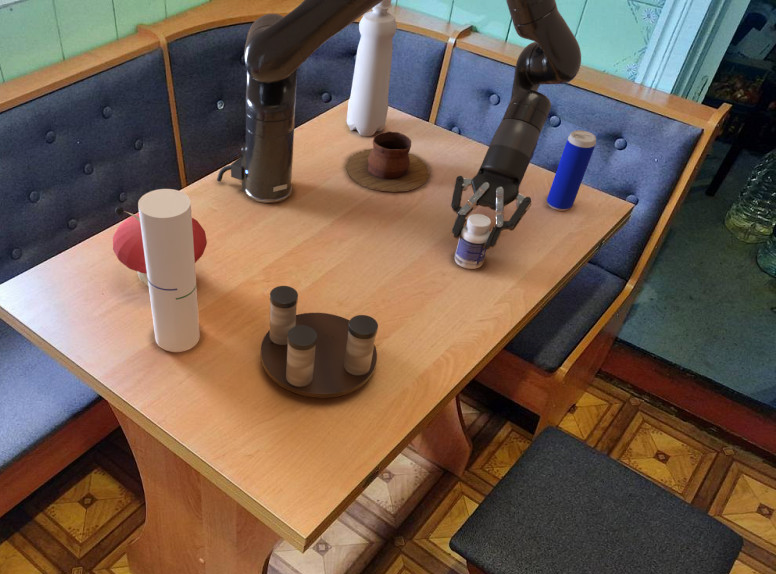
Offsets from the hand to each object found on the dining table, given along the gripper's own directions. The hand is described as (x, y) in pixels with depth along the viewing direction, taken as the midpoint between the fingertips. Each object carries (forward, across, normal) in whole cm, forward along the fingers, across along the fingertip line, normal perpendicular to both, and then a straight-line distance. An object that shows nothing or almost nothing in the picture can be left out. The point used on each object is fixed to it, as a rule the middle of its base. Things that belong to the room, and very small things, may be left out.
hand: (471, 242), depth 129 cm
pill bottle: (+3, 0, +5) cm, 6 cm away
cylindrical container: (+34, -33, -27) cm, 55 cm away
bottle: (-22, -38, +30) cm, 53 cm away
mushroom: (+27, -44, -19) cm, 55 cm away
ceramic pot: (-12, -26, +20) cm, 35 cm away
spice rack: (+28, -11, -23) cm, 38 cm away
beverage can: (-17, +9, +25) cm, 32 cm away
